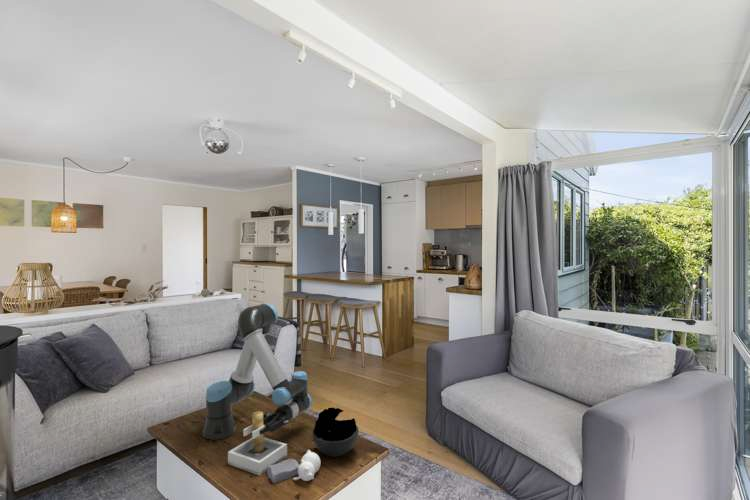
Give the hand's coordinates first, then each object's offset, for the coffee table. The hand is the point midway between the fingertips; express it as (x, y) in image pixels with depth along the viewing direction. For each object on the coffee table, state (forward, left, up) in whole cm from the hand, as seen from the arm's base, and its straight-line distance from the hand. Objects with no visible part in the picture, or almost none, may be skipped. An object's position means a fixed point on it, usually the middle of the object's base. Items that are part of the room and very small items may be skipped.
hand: (248, 434), depth 152 cm
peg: (0, +5, -9) cm, 11 cm away
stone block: (+16, +3, -14) cm, 21 cm away
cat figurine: (+26, +6, -13) cm, 30 cm away
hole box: (0, +5, -13) cm, 14 cm away
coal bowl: (+27, +24, -13) cm, 39 cm away
